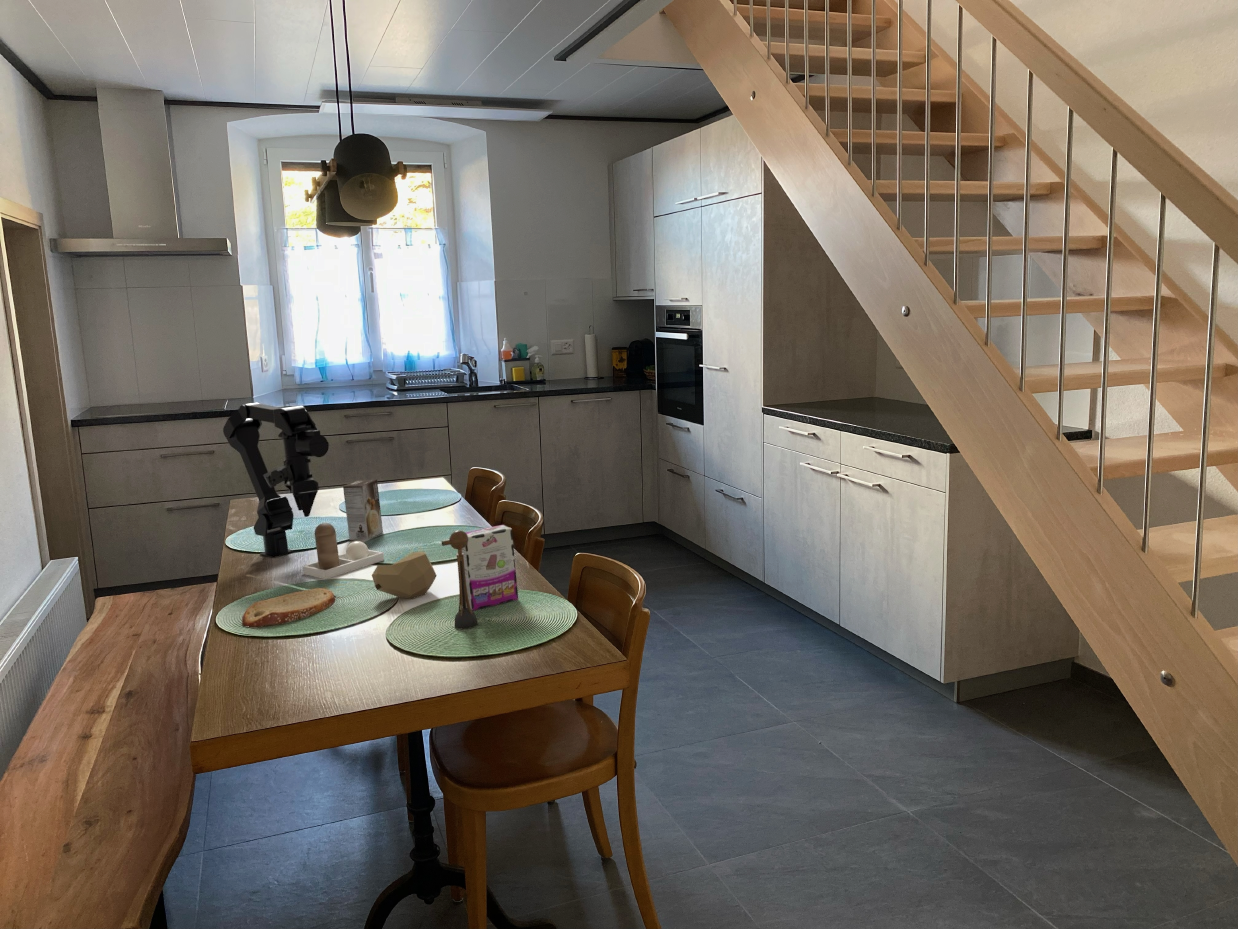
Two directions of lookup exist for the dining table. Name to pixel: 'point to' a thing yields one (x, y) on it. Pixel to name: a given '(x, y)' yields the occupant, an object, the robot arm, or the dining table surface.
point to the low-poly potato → (406, 576)
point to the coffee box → (363, 509)
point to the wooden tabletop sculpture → (462, 582)
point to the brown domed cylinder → (326, 546)
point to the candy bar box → (490, 567)
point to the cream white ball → (356, 551)
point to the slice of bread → (288, 607)
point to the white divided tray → (343, 565)
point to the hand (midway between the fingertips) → (303, 513)
